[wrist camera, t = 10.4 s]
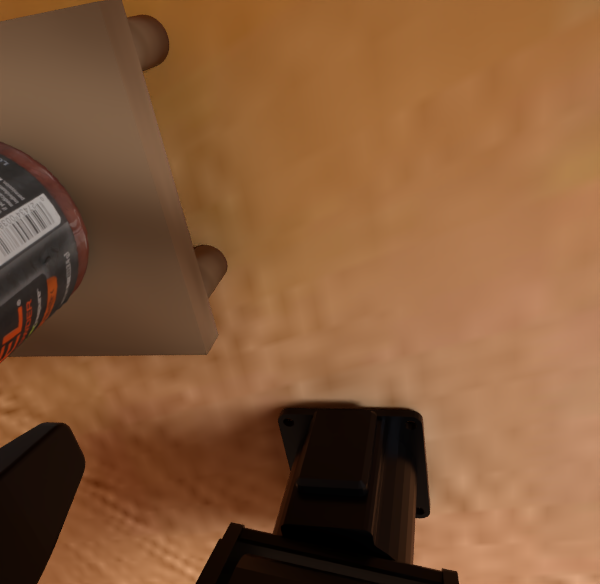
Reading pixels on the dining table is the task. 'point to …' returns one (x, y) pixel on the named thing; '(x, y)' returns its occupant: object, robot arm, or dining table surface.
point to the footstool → (108, 182)
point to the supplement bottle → (35, 247)
